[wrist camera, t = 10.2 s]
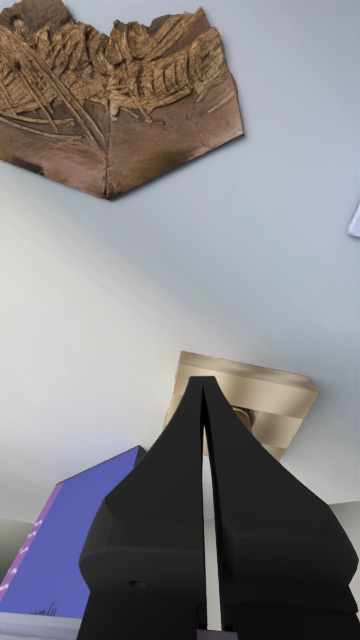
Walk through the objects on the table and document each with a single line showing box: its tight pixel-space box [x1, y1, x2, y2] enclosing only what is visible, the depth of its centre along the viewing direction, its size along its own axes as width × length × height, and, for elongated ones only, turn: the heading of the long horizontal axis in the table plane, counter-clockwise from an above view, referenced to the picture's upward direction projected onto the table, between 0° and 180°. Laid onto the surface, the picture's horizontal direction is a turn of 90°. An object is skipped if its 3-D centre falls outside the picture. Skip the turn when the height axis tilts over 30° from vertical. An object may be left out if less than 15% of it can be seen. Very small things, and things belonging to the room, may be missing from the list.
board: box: [163, 351, 319, 462], centre depth 23 cm, size 14×12×2 cm
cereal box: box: [0, 445, 147, 619], centre depth 20 cm, size 17×5×24 cm, turn 126°
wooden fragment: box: [0, 0, 245, 200], centre depth 15 cm, size 26×11×1 cm, turn 85°
